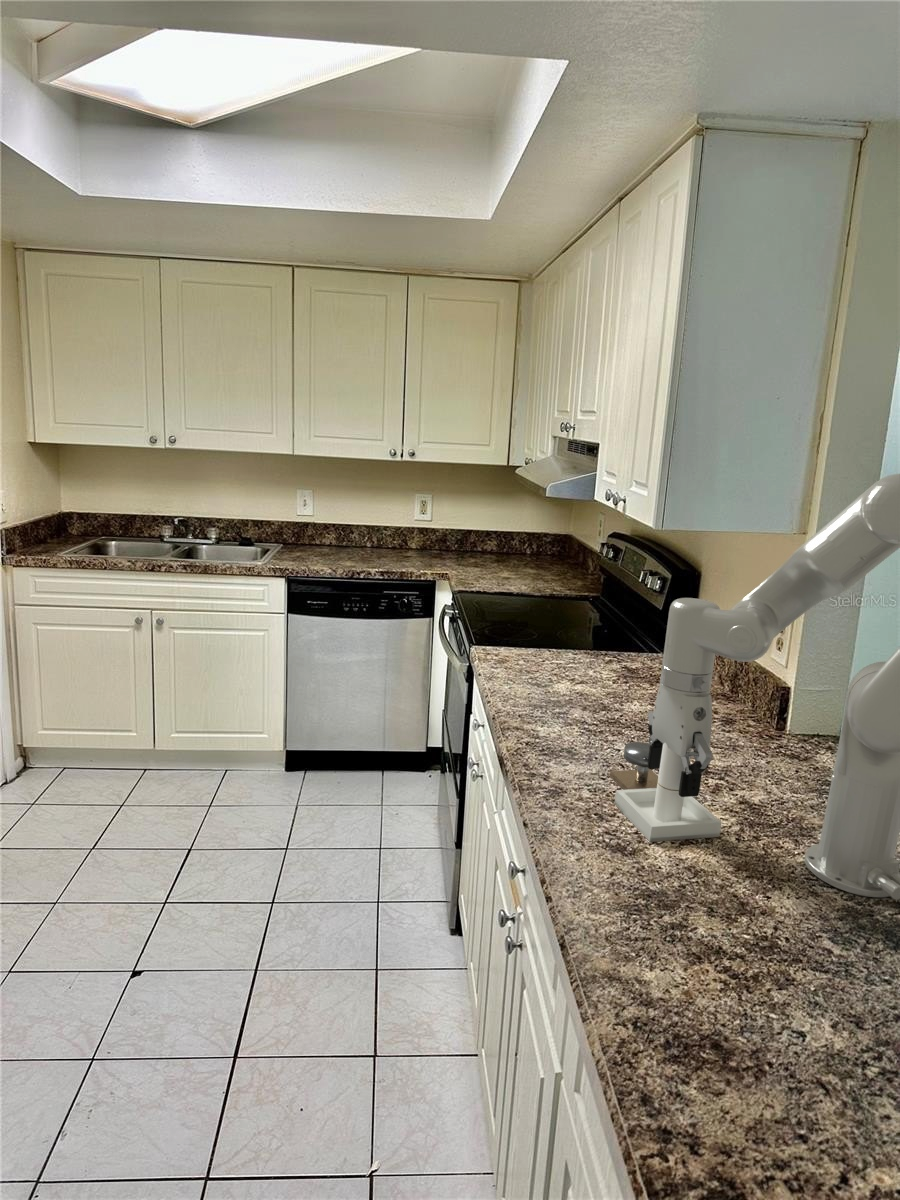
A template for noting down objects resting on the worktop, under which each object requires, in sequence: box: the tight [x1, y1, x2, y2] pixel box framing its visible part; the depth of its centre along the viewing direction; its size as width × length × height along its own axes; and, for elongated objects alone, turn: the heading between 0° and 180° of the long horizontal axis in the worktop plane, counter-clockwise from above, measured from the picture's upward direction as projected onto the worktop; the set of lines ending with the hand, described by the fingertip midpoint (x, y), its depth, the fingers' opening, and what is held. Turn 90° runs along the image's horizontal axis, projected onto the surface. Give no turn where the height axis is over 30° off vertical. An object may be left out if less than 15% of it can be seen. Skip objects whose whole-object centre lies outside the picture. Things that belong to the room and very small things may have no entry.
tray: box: [613, 788, 722, 843], centre depth 124 cm, size 12×12×2 cm
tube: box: [653, 743, 692, 822], centre depth 122 cm, size 4×4×15 cm
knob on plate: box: [609, 741, 659, 790], centre depth 135 cm, size 8×8×7 cm
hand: (671, 781), depth 123 cm, fingers open, 9 cm apart
